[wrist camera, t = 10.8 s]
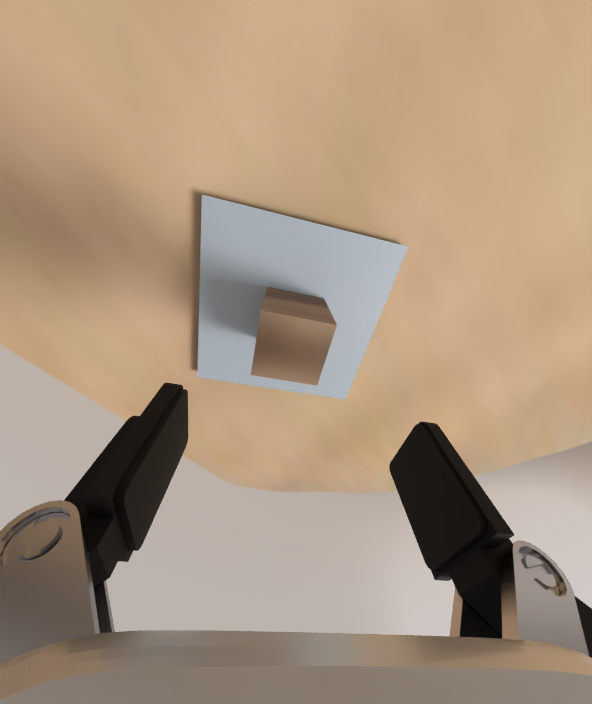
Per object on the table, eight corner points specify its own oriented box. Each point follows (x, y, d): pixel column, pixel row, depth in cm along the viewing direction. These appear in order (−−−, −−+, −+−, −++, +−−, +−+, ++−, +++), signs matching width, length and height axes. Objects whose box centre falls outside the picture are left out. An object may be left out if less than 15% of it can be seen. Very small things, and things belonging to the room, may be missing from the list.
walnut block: (267, 286, 20) (260, 310, 15) (324, 298, 21) (336, 325, 15) (259, 338, 22) (250, 374, 17) (310, 347, 23) (317, 385, 18)
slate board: (205, 195, 17) (201, 194, 17) (404, 245, 20) (408, 246, 19) (199, 372, 25) (197, 377, 24) (344, 394, 27) (345, 399, 26)
